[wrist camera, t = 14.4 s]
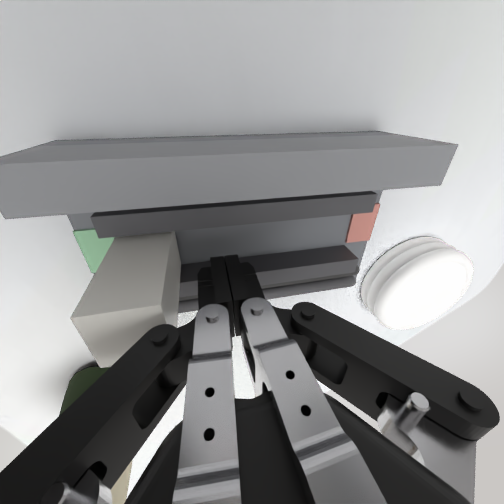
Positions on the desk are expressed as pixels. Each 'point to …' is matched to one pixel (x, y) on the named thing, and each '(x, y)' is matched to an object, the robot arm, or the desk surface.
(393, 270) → the white round disc
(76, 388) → the character mug
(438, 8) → the desk surface
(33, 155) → the grey slider panel
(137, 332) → the handle
